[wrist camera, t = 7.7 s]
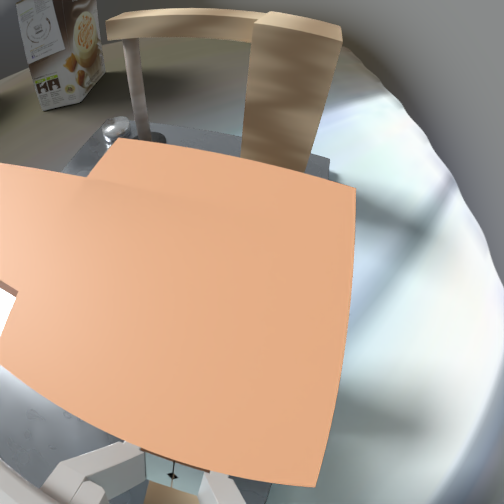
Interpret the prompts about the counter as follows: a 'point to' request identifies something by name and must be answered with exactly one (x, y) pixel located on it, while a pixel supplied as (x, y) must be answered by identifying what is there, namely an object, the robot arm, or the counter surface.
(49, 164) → the counter surface
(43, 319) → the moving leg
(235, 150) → the hole plate
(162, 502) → the fixed leg
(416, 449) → the counter surface
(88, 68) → the coffee box
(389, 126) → the counter surface
